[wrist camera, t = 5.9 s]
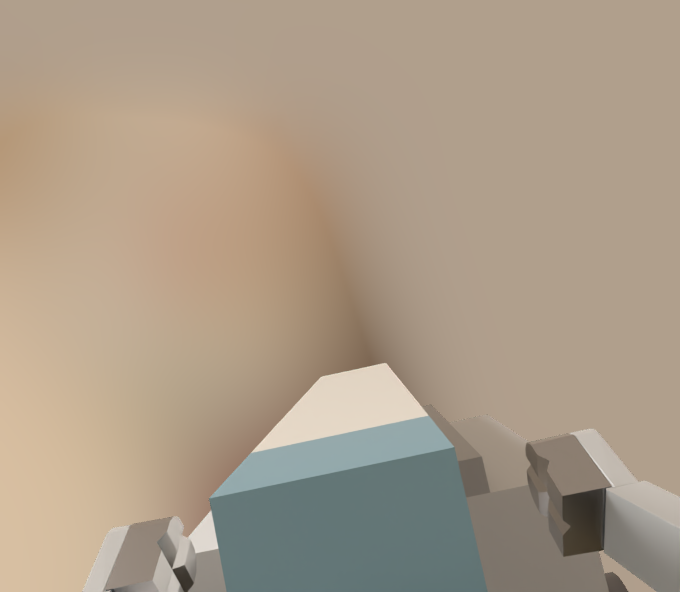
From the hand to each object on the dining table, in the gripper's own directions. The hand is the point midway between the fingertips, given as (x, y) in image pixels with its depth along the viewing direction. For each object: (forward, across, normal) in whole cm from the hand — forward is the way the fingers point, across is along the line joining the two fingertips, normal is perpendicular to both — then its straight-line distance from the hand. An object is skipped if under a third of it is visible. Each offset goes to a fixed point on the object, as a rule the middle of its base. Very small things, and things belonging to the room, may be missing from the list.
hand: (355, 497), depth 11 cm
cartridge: (+5, 0, -6) cm, 8 cm away
